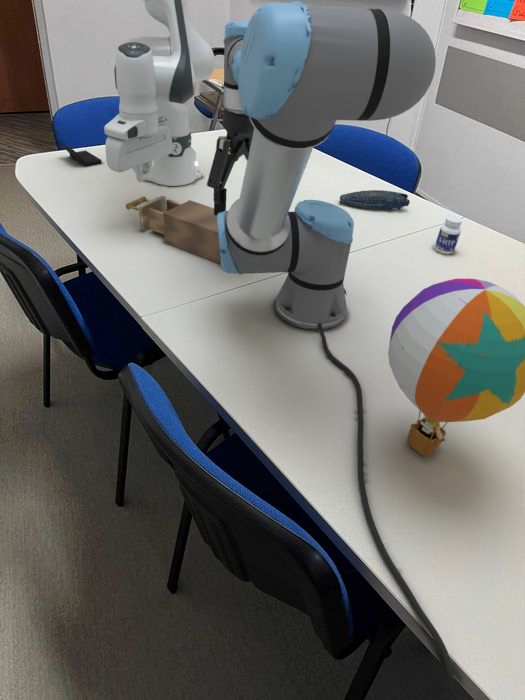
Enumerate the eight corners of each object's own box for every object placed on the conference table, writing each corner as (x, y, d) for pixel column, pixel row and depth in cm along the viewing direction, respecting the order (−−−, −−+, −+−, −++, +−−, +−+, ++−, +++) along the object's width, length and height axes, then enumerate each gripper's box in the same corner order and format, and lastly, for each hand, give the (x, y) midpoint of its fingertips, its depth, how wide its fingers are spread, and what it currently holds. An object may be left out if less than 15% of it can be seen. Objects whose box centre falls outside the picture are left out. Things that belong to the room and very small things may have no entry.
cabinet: (164, 242, 132) (163, 212, 127) (190, 228, 139) (189, 199, 134) (232, 268, 124) (233, 238, 119) (255, 251, 132) (257, 222, 127)
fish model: (408, 214, 157) (412, 198, 153) (339, 207, 158) (341, 191, 154) (406, 206, 162) (410, 190, 159) (339, 199, 163) (341, 183, 160)
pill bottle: (433, 251, 139) (442, 220, 133) (435, 243, 143) (444, 213, 137) (453, 256, 138) (464, 225, 132) (454, 247, 142) (465, 217, 136)
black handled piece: (106, 156, 172) (85, 134, 163) (94, 173, 170) (73, 152, 162) (85, 152, 178) (64, 130, 170) (74, 169, 177) (52, 148, 168)
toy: (336, 437, 84) (375, 278, 66) (409, 388, 95) (460, 239, 76) (438, 521, 73) (519, 358, 55) (507, 455, 84) (595, 300, 65)
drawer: (123, 222, 137) (120, 199, 134) (146, 210, 144) (145, 189, 140) (200, 251, 128) (200, 228, 124) (222, 238, 134) (223, 216, 130)
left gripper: (157, 111, 132) (160, 166, 140) (98, 128, 118) (105, 187, 126) (177, 117, 129) (179, 172, 138) (119, 134, 115) (124, 194, 124)
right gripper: (257, 96, 118) (251, 187, 131) (189, 116, 100) (190, 219, 113) (286, 102, 115) (277, 195, 128) (221, 124, 98) (218, 229, 111)
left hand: (143, 179), depth 132 cm, fingers closed
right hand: (236, 206), depth 121 cm, fingers open, 13 cm apart
